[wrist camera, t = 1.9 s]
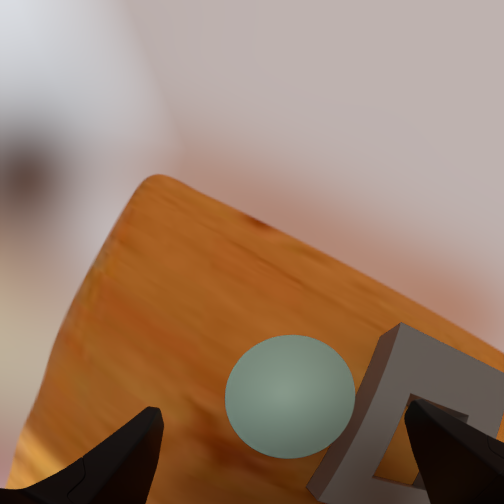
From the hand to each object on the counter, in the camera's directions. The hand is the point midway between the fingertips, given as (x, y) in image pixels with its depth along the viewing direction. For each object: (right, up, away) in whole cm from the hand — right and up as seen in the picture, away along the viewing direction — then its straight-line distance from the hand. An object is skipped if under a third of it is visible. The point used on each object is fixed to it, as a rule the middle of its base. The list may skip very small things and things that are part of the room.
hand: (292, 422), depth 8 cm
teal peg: (0, -6, +11) cm, 13 cm away
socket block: (+12, -10, +9) cm, 18 cm away
